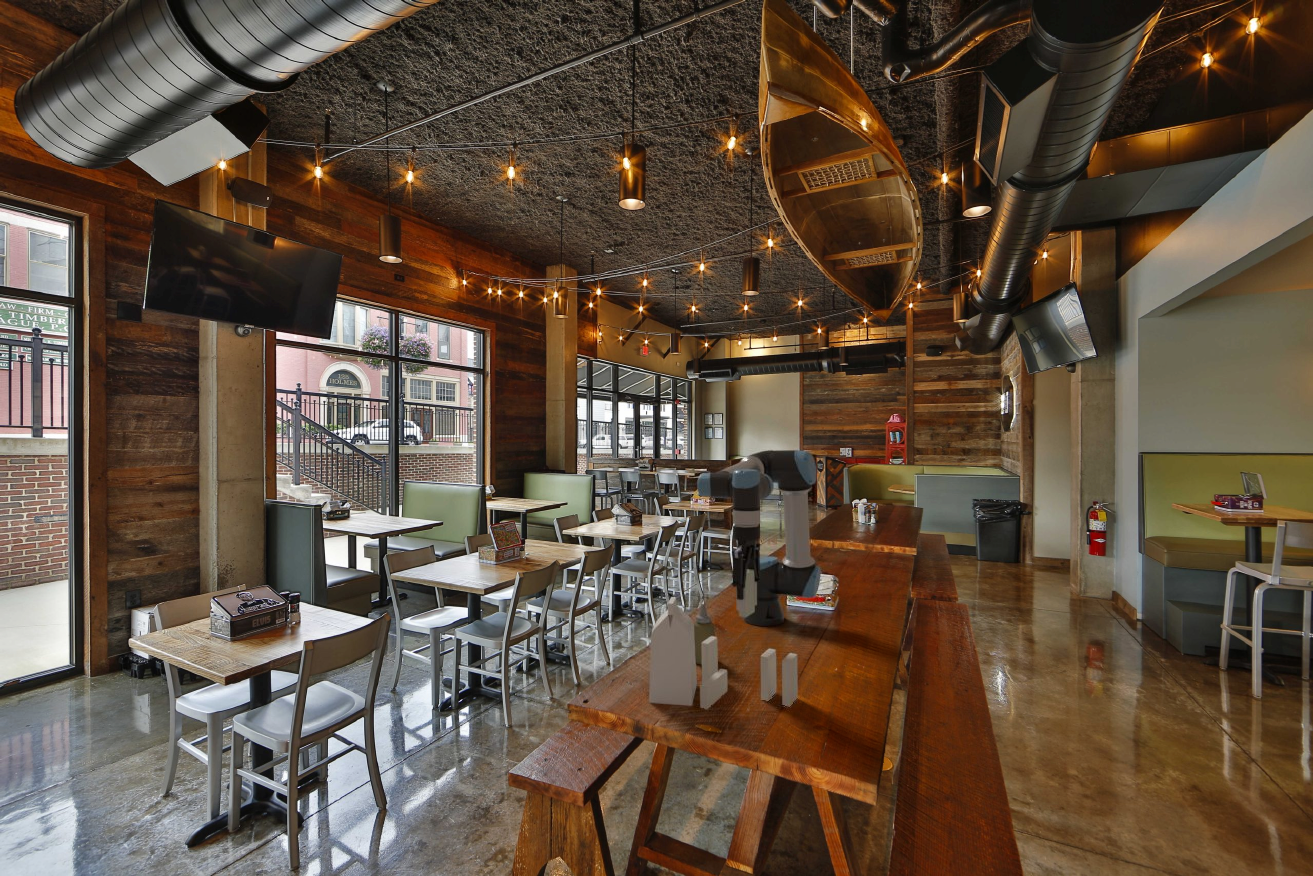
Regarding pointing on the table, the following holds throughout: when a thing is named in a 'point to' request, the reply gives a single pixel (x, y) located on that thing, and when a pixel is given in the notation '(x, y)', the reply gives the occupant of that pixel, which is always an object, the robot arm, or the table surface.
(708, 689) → the domino
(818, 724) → the table surface
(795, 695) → the domino
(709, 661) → the domino
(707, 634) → the squeeze bottle
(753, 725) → the table surface
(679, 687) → the milk
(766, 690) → the domino
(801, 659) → the table surface
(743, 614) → the domino
